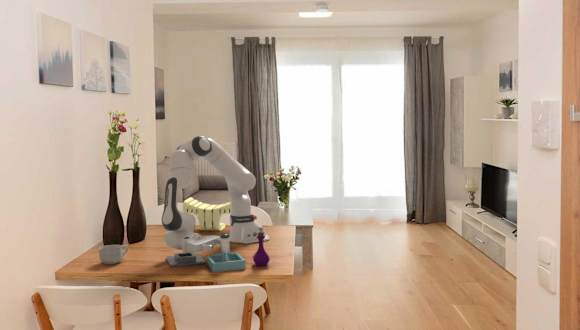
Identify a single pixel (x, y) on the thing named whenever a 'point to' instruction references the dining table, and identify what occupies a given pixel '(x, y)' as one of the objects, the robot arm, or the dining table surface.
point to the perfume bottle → (261, 251)
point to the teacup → (112, 253)
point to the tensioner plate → (185, 259)
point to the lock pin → (225, 247)
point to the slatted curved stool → (207, 213)
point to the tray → (218, 266)
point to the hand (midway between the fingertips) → (217, 245)
